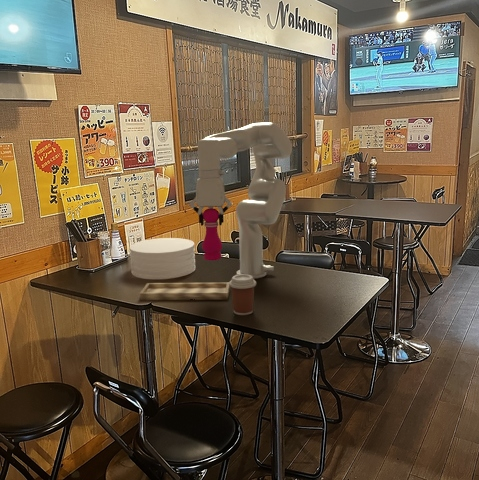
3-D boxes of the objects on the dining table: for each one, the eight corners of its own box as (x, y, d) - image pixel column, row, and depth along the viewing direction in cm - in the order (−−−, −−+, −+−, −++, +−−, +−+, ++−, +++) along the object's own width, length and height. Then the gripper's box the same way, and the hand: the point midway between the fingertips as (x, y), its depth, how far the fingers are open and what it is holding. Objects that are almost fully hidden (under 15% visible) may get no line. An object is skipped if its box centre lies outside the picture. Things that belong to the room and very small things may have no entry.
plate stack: (125, 266, 219) (123, 242, 216) (183, 258, 230) (182, 235, 228) (139, 283, 194) (137, 256, 191) (204, 273, 205) (203, 247, 203)
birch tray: (229, 288, 184) (229, 282, 184) (227, 299, 173) (227, 292, 172) (147, 289, 186) (147, 283, 185) (139, 300, 174) (139, 293, 174)
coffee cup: (262, 310, 161) (261, 276, 158) (245, 318, 154) (244, 283, 152) (241, 304, 167) (240, 271, 164) (224, 312, 160) (222, 278, 157)
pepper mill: (225, 256, 178) (223, 202, 173) (218, 261, 171) (216, 205, 167) (207, 255, 180) (205, 202, 176) (199, 260, 173) (197, 205, 169)
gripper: (234, 173, 172) (235, 222, 176) (186, 174, 173) (189, 223, 177) (233, 175, 165) (234, 226, 169) (183, 176, 166) (186, 227, 170)
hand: (211, 224), depth 173 cm, fingers closed on pepper mill, 6 cm apart
